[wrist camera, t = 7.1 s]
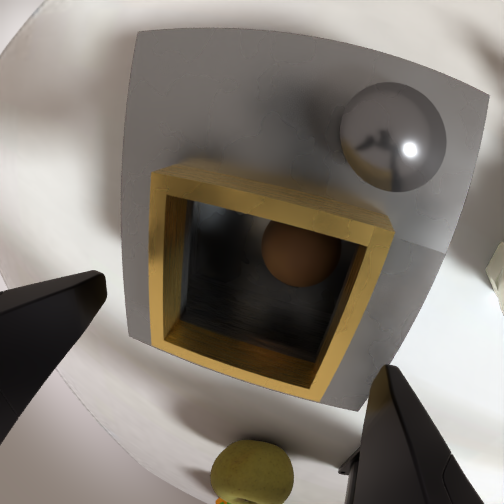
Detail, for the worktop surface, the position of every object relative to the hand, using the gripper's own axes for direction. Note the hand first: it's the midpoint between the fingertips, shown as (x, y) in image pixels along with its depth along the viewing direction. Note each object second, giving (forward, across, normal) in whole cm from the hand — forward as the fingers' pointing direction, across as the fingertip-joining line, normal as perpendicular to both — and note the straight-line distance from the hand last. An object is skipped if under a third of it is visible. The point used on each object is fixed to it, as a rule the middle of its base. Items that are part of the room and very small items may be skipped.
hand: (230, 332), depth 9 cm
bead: (+9, 0, 0) cm, 9 cm away
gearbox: (+10, 0, -2) cm, 10 cm away
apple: (+10, -3, +24) cm, 26 cm away
